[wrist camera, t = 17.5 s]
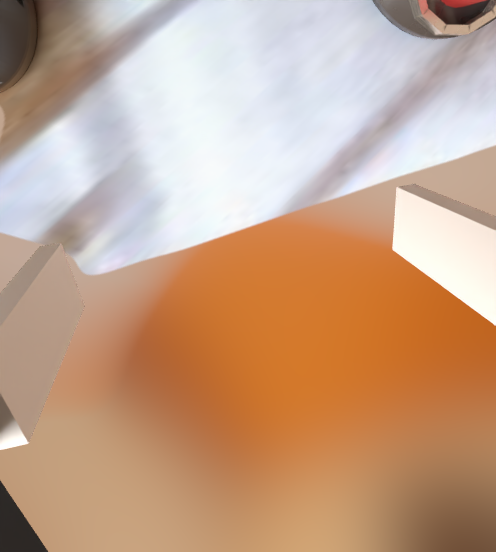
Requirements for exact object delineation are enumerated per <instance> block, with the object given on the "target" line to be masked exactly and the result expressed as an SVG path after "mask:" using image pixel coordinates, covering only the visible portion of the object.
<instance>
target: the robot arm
mask: <svg viewBox="0 0 496 552" xmlns="http://www.w3.org/2000/svg"><path fill="white" fill-rule="evenodd" d="M36 40H37V19H36V12H35V7H34V3H33V0H0V93H1V92H3V91H5V90H7V89H8V88H10V87H11V86H13V85H14V84H15V83H16V82H17V81H18V80H19V79H20V78H21V77H22V76H23V75H24V73H25V72H26V70H27V68H28V67H29V65H30V63H31V60H32V58H33V55H34V51H35V47H36ZM393 250H394V251H395V252H397V253H398V254H399V255H401V256H402V257H403V258H405V259H406V260H407V261H409V262H411V263H412V264H413V265H414V266H416V267H417V268H418V269H420V270H421V271H422V272H424V273H425V274H427V275H428V276H429V277H431V278H432V279H433V280H435V281H436V282H437V283H439V284H440V285H441V286H443V287H444V288H446V289H447V290H448V291H450V292H451V293H452V294H454V295H455V296H456V297H458V298H459V299H461V300H462V301H463V302H465V303H466V304H468V305H469V306H470V307H471V308H473V309H474V310H475V311H477V312H478V313H480V314H481V315H482V316H484V317H485V318H486V319H488V320H489V321H490V322H492V323H493V324H495V325H496V216H494V215H491V214H488V213H486V212H484V211H481V210H478V209H476V208H473V207H471V206H469V205H466V204H464V203H461V202H459V201H456V200H453V199H451V198H448V197H446V196H443V195H441V194H438V193H436V192H433V191H431V190H428V189H426V188H423V187H421V186H418V185H416V184H413V185H406V186H400V187H397V191H396V207H395V221H394V236H393ZM84 307H85V306H84V303H83V300H82V298H81V295H80V293H79V290H78V287H77V284H76V282H75V279H74V276H73V273H72V271H71V268H70V265H69V263H68V260H67V257H66V254H65V252H64V249H63V246H62V244H61V243H58V244H52V245H46V246H40V247H39V248H38V249H37V250H36V251H35V253H34V254H33V255H32V257H30V259H29V260H28V261H27V262H26V263H25V265H24V266H23V267H22V268H21V269H20V270H19V272H18V273H17V274H16V275H15V276H14V277H13V279H12V280H11V281H10V282H9V283H8V284H7V286H6V287H5V288H4V289H3V290H2V291H1V293H0V450H1V449H6V448H10V447H14V446H20V445H24V444H29V441H30V439H31V436H32V434H33V432H34V429H35V426H36V424H37V422H38V419H39V417H40V414H41V412H42V409H43V407H44V405H45V402H46V400H47V397H48V395H49V392H50V390H51V387H52V385H53V383H54V380H55V378H56V375H57V373H58V370H59V368H60V366H61V363H62V361H63V358H64V356H65V353H66V351H67V348H68V346H69V343H70V341H71V339H72V336H73V334H74V331H75V329H76V326H77V324H78V321H79V319H80V317H81V314H82V311H83V309H84ZM0 552H48V551H47V550H46V548H45V546H44V545H43V543H42V542H41V540H40V539H39V537H38V536H37V534H36V533H35V531H34V530H33V529H32V527H31V526H30V524H29V523H28V521H27V520H26V518H25V517H24V515H23V514H22V512H21V511H20V509H19V508H18V507H17V505H16V503H15V502H14V500H13V499H12V497H11V496H10V494H9V493H8V491H7V490H6V488H5V487H4V485H3V484H2V483H1V481H0Z"/></svg>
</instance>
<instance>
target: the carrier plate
mask: <svg viewBox="0 0 496 552" xmlns="http://www.w3.org/2000/svg"><path fill="white" fill-rule="evenodd" d="M373 2H374V4H375V5H376V6H377V8H378V9H379V10H380V12H381V13H382V14H383V15H384V16H385V17H386V18H387V19H388V20H389V21H390V22H391V23H392V24H394V25H395V26H396V27H398V28H399V29H401V30H402V31H404V32H407V33H409V34H411V35H413V36H417V37H421V38H426V39H445V38H452V37H456V36H460V35H466V34H470V33H471V32H473V31H475V30H478V29H480V28H481V27H483V26H485V25H487V24H488V23H490V22H492V21H493V20H494V19H496V0H486V1H482V2H479V3H475V4H472V5H468V6H464V7H458V8H454V7H450V6H447V5H446V4H444V3H443V2H442V1H441V0H373Z"/></svg>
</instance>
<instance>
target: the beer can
mask: <svg viewBox="0 0 496 552" xmlns="http://www.w3.org/2000/svg"><path fill="white" fill-rule="evenodd" d="M441 1H442V2H443V3H444V4H446V5H447V6H450V7H454V8H458V7H464V6H468V5H472V4H475V3H479V2H482V1H486V0H441Z"/></svg>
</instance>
